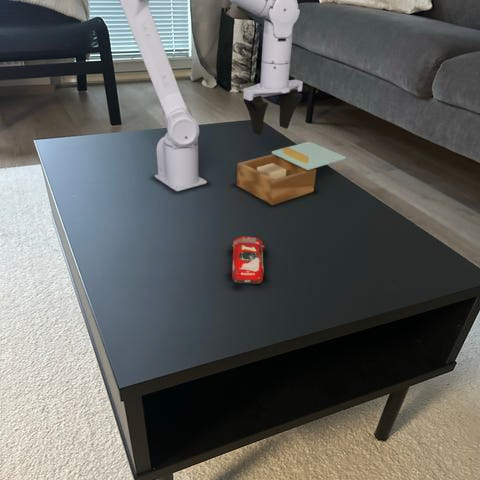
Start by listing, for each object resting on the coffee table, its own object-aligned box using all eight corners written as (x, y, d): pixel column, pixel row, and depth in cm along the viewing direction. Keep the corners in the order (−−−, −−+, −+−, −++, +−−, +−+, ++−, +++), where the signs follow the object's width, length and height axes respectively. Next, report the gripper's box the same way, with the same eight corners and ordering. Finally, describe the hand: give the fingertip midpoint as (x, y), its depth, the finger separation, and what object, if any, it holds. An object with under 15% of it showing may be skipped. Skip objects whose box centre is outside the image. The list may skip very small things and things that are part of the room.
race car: (232, 245, 90) (233, 225, 88) (263, 247, 90) (264, 227, 88) (229, 287, 80) (229, 265, 77) (263, 288, 80) (264, 267, 77)
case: (236, 185, 111) (237, 163, 107) (277, 173, 117) (279, 152, 113) (272, 205, 103) (274, 182, 100) (313, 191, 109) (316, 169, 106)
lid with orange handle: (271, 153, 112) (272, 145, 111) (308, 143, 118) (309, 136, 117) (307, 170, 105) (308, 162, 104) (345, 159, 111) (346, 151, 110)
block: (255, 187, 109) (256, 167, 106) (271, 182, 111) (272, 162, 109) (269, 194, 106) (270, 174, 104) (284, 189, 109) (286, 169, 106)
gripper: (261, 69, 94) (256, 141, 102) (315, 61, 101) (307, 129, 110) (237, 62, 98) (235, 132, 107) (292, 54, 105) (286, 121, 114)
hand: (270, 130), depth 109 cm, fingers open, 7 cm apart
